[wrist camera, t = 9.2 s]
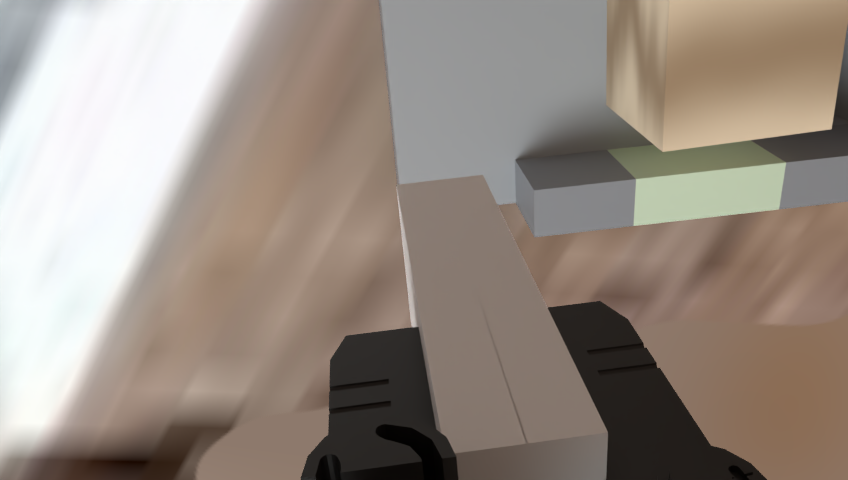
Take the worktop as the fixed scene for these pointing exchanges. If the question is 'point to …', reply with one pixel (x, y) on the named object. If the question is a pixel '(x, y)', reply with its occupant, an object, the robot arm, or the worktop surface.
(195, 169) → the worktop surface
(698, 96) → the block
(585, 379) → the robot arm
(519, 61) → the grey tray
